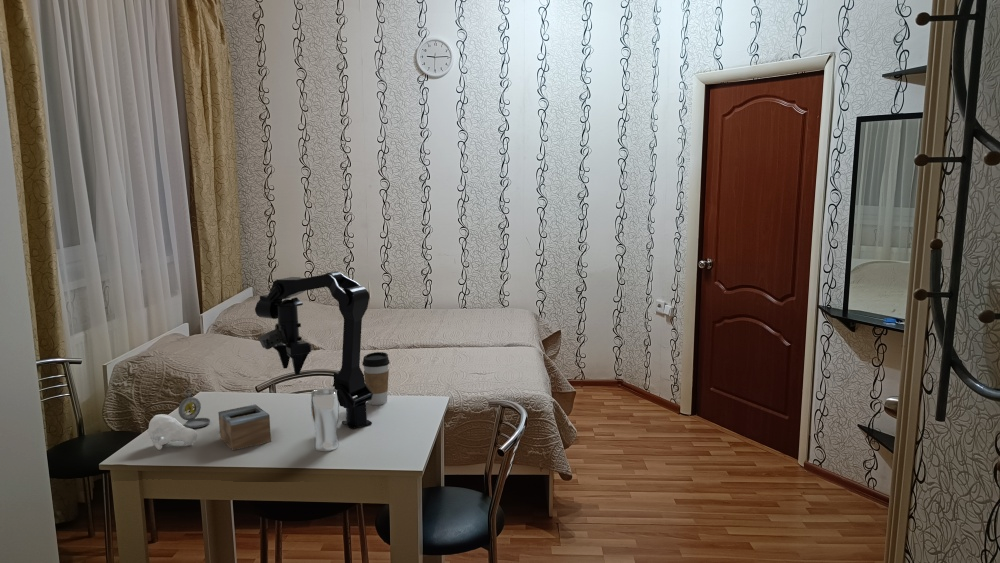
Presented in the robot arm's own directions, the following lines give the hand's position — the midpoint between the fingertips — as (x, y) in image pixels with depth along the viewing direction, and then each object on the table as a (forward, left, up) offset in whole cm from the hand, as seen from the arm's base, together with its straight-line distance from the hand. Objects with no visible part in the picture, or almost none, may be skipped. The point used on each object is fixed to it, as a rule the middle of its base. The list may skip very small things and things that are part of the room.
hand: (291, 371), depth 217 cm
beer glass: (-33, +4, -13) cm, 36 cm away
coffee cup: (-8, -24, -13) cm, 28 cm away
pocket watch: (+8, +26, -13) cm, 30 cm away
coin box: (-14, +19, -12) cm, 27 cm away
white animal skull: (-6, +35, -13) cm, 38 cm away
